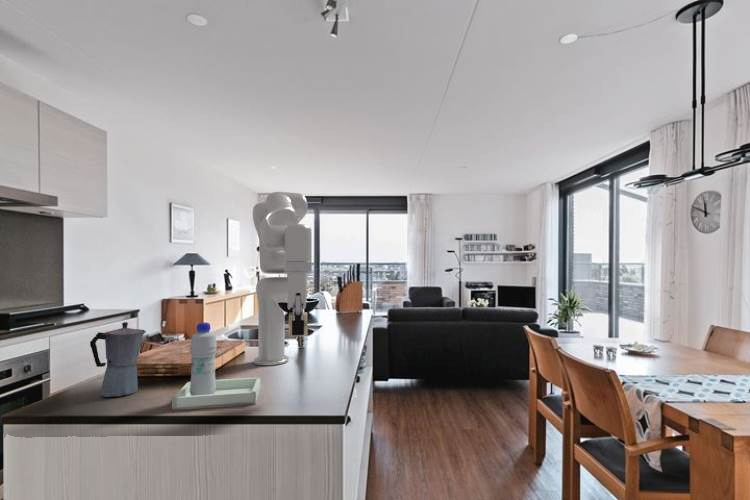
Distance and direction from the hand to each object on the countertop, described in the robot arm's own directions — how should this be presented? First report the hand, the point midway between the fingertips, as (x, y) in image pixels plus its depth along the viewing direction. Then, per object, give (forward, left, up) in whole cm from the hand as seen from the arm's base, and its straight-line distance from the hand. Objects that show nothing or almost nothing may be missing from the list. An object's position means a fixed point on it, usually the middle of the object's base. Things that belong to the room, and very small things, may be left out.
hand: (297, 332), depth 107 cm
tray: (-2, -21, -17) cm, 27 cm away
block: (0, 0, -1) cm, 1 cm away
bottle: (-2, -25, -17) cm, 30 cm away
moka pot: (-12, -50, -17) cm, 54 cm away
